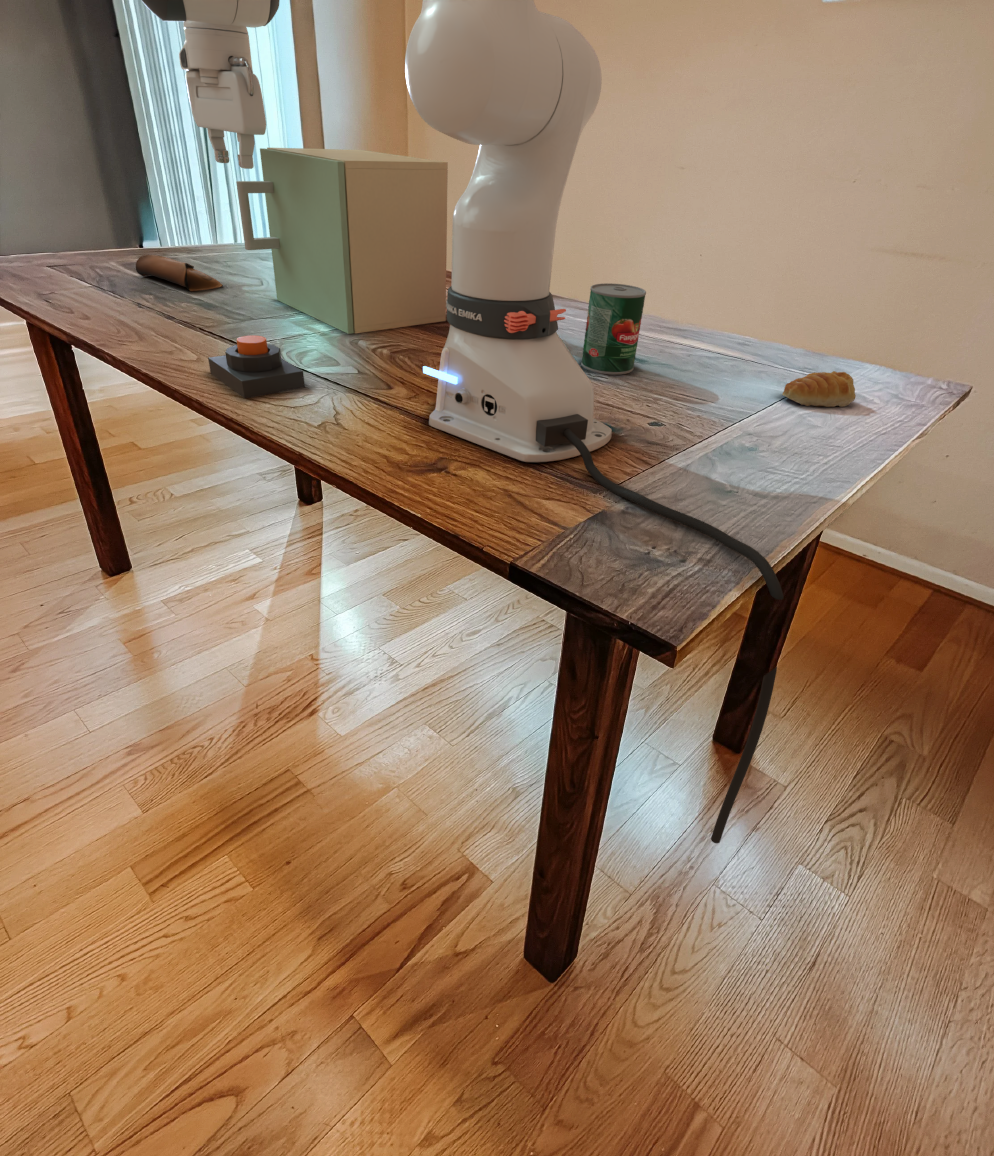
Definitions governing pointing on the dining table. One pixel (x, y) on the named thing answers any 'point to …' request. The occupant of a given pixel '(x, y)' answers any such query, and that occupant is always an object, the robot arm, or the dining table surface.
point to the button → (252, 345)
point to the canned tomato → (612, 328)
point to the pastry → (822, 389)
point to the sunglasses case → (175, 272)
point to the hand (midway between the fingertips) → (234, 165)
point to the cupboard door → (304, 233)
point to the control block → (256, 372)
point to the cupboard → (393, 236)
